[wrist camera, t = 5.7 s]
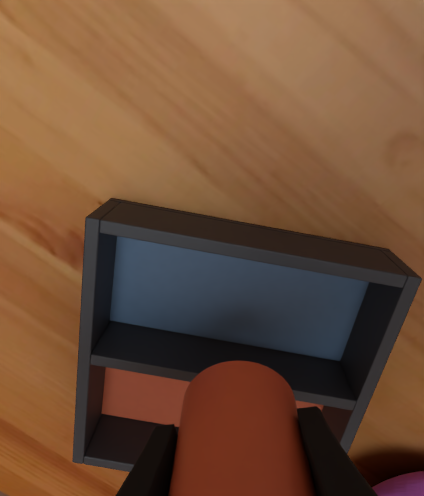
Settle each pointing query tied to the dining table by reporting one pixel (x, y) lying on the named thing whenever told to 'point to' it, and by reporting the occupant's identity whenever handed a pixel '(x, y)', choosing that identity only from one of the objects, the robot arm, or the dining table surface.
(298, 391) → the organizer
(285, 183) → the dining table surface
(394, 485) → the blob
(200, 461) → the terracotta peg
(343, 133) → the dining table surface
